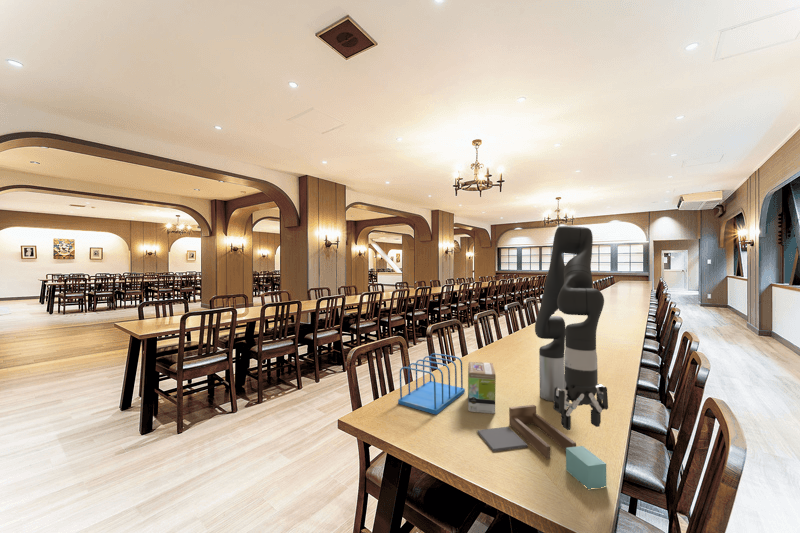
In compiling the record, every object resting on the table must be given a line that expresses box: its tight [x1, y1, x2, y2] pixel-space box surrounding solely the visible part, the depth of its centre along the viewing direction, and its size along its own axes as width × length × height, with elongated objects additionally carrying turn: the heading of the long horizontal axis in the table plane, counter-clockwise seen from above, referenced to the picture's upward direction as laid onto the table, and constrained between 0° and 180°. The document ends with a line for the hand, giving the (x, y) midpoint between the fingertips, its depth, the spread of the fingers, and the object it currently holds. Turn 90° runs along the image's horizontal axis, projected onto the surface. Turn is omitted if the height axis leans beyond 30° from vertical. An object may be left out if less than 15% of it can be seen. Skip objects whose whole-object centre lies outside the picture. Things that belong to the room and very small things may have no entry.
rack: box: [508, 404, 577, 460], centre depth 102 cm, size 9×20×6 cm, turn 11°
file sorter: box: [397, 352, 466, 415], centre depth 133 cm, size 25×17×15 cm
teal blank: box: [565, 445, 607, 489], centre depth 83 cm, size 5×8×6 cm, turn 10°
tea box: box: [467, 361, 497, 414], centre depth 127 cm, size 15×10×15 cm
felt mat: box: [477, 426, 528, 452], centre depth 101 cm, size 11×11×1 cm
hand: (581, 427), depth 85 cm, fingers open, 8 cm apart
